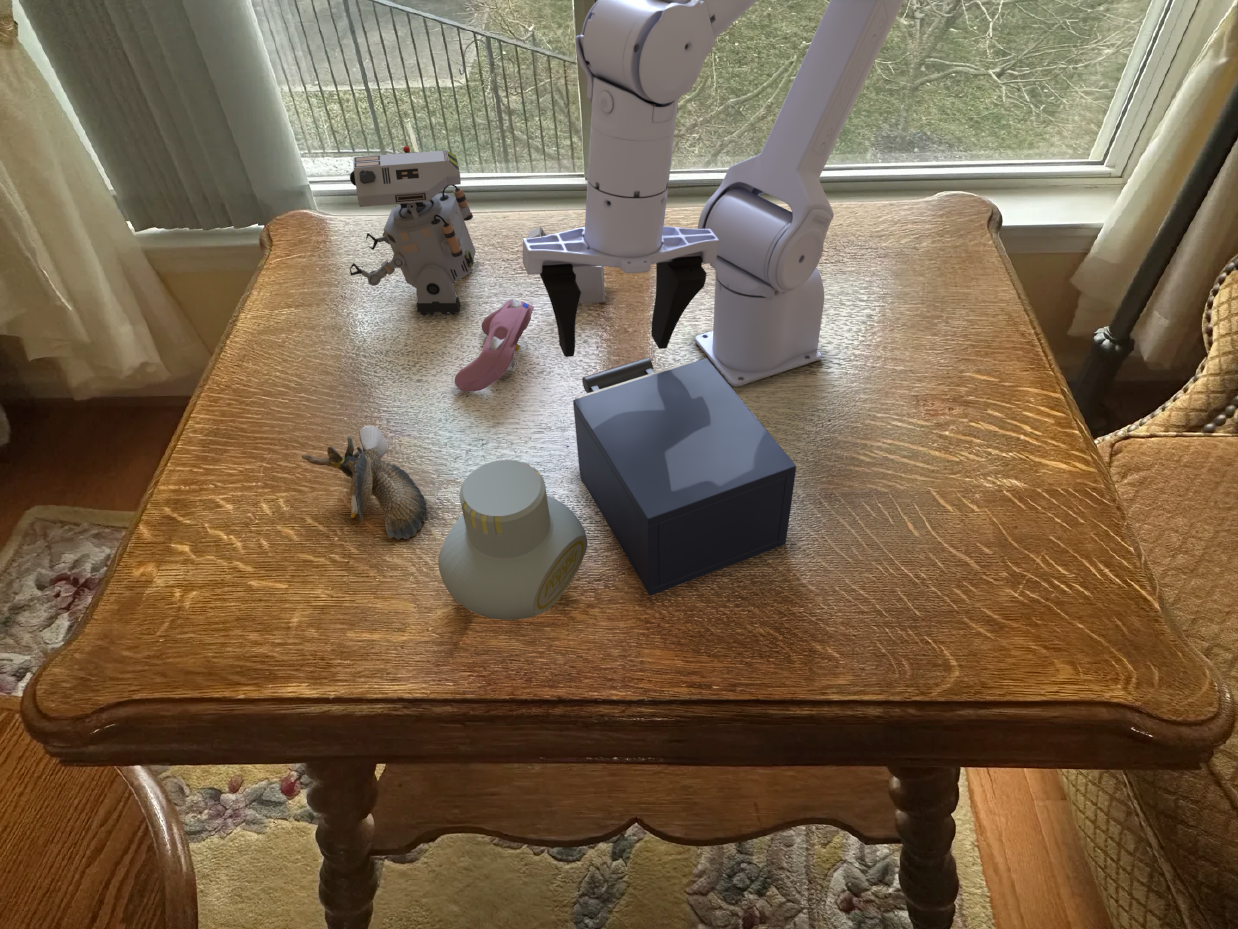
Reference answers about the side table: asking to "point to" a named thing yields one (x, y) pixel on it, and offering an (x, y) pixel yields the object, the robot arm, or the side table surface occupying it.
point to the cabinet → (683, 474)
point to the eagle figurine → (378, 483)
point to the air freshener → (510, 544)
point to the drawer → (620, 376)
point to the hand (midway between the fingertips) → (613, 346)
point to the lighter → (584, 277)
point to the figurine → (419, 223)
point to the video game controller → (496, 346)
